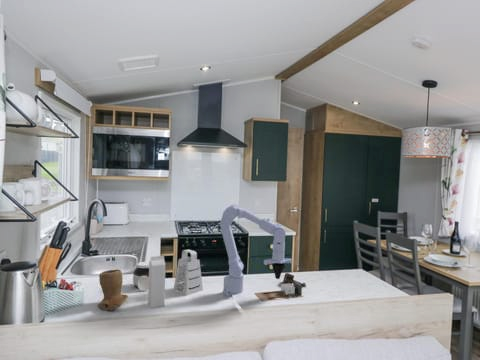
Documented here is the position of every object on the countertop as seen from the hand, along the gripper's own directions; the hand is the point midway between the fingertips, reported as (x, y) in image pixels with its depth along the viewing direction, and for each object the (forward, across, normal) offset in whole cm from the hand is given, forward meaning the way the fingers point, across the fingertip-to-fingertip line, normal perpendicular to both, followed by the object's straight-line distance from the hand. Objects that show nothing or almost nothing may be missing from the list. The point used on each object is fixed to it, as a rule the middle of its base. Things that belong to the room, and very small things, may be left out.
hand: (277, 278), depth 161 cm
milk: (+10, -57, +5) cm, 58 cm away
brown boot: (+10, -76, +10) cm, 78 cm away
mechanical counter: (+10, +15, +11) cm, 21 cm away
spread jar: (+10, -61, +28) cm, 68 cm away
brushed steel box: (+8, +7, -2) cm, 10 cm away
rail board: (+9, +1, -1) cm, 9 cm away
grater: (+10, -40, +19) cm, 46 cm away
